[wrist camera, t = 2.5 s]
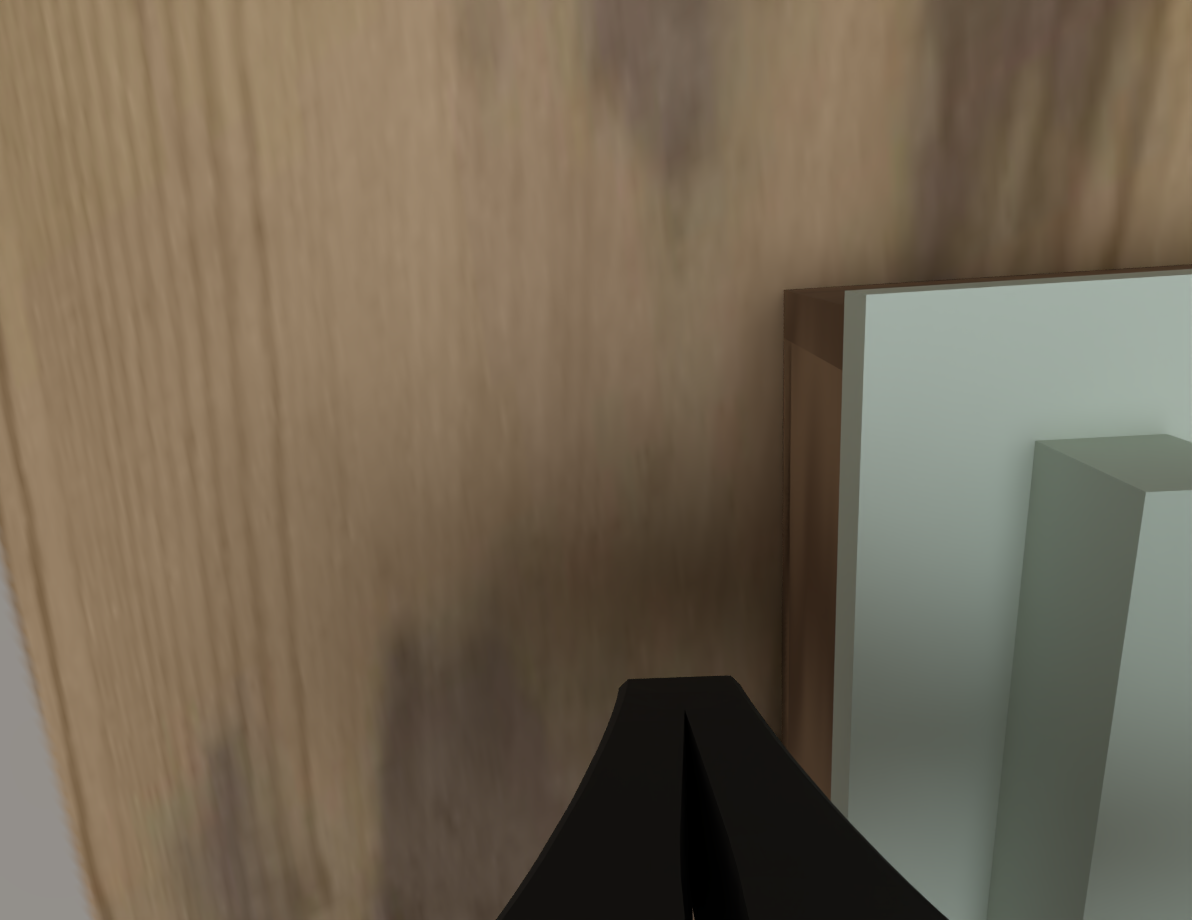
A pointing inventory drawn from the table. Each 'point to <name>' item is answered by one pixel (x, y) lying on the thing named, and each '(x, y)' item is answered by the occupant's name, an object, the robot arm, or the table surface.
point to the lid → (1019, 593)
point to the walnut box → (822, 509)
